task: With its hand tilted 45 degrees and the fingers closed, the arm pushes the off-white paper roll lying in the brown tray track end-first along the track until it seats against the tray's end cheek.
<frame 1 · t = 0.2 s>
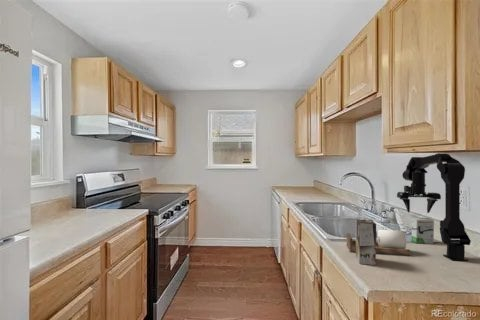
hand: (418, 212, 156), 14 cm above the worktop, tool pointing down, fingers open, 9 cm apart
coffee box: (365, 261, 125), on the worktop
ink box: (422, 242, 153), on the worktop
kitchen roll: (391, 239, 138), point 5 cm above the worktop, slide at 0.0 cm
brown tray: (386, 250, 138), on the worktop
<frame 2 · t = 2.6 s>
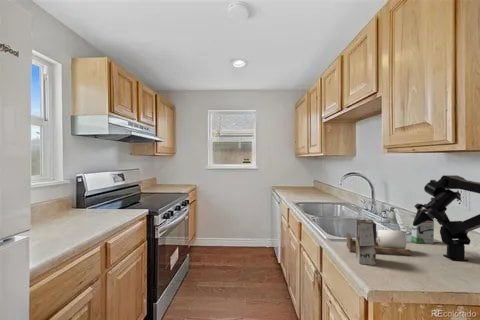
hand: (413, 225, 136), 12 cm above the worktop, tool tilted 45°, fingers closed
nothing on the worktop moved.
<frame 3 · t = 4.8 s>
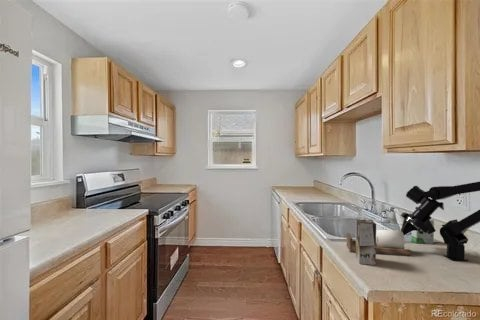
hand: (400, 235, 140), 7 cm above the worktop, tool tilted 40°, fingers closed, pressing on kitchen roll
kitchen roll: (389, 239, 138), point 5 cm above the worktop, slide at 0.7 cm, touching gripper
everything else where it was.
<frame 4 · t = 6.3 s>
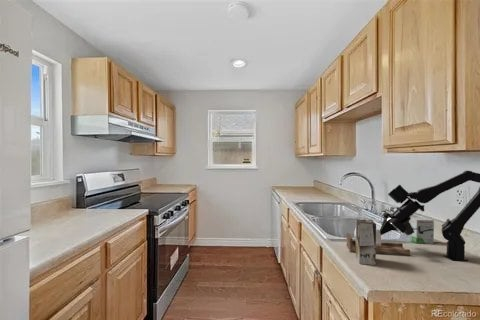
hand: (379, 234, 140), 7 cm above the worktop, tool tilted 45°, fingers closed
kitchen roll: (367, 238, 140), point 5 cm above the worktop, slide at 10.1 cm
everything else where it was.
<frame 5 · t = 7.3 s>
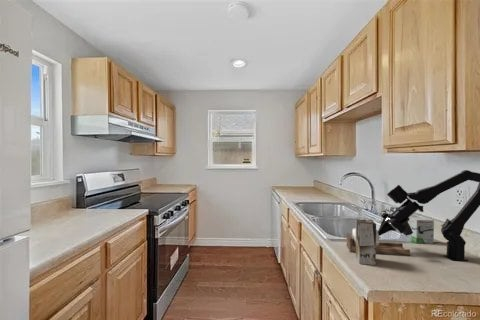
hand: (378, 234, 139), 7 cm above the worktop, tool tilted 45°, fingers closed
kitchen roll: (365, 238, 140), point 5 cm above the worktop, slide at 11.0 cm
everything else where it was.
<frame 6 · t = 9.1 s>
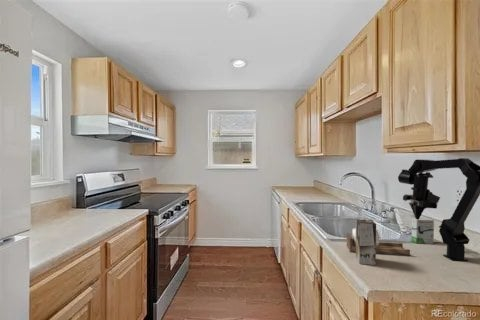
hand: (417, 219, 145), 13 cm above the worktop, tool pointing down, fingers closed
nothing on the worktop moved.
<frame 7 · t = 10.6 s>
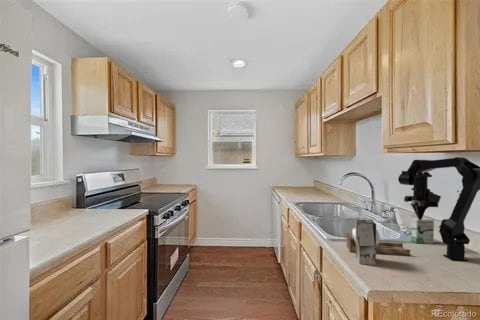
hand: (420, 219, 145), 13 cm above the worktop, tool pointing down, fingers closed
nothing on the worktop moved.
at the end: kitchen roll slide at 11.0 cm; the gripper is holding nothing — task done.
